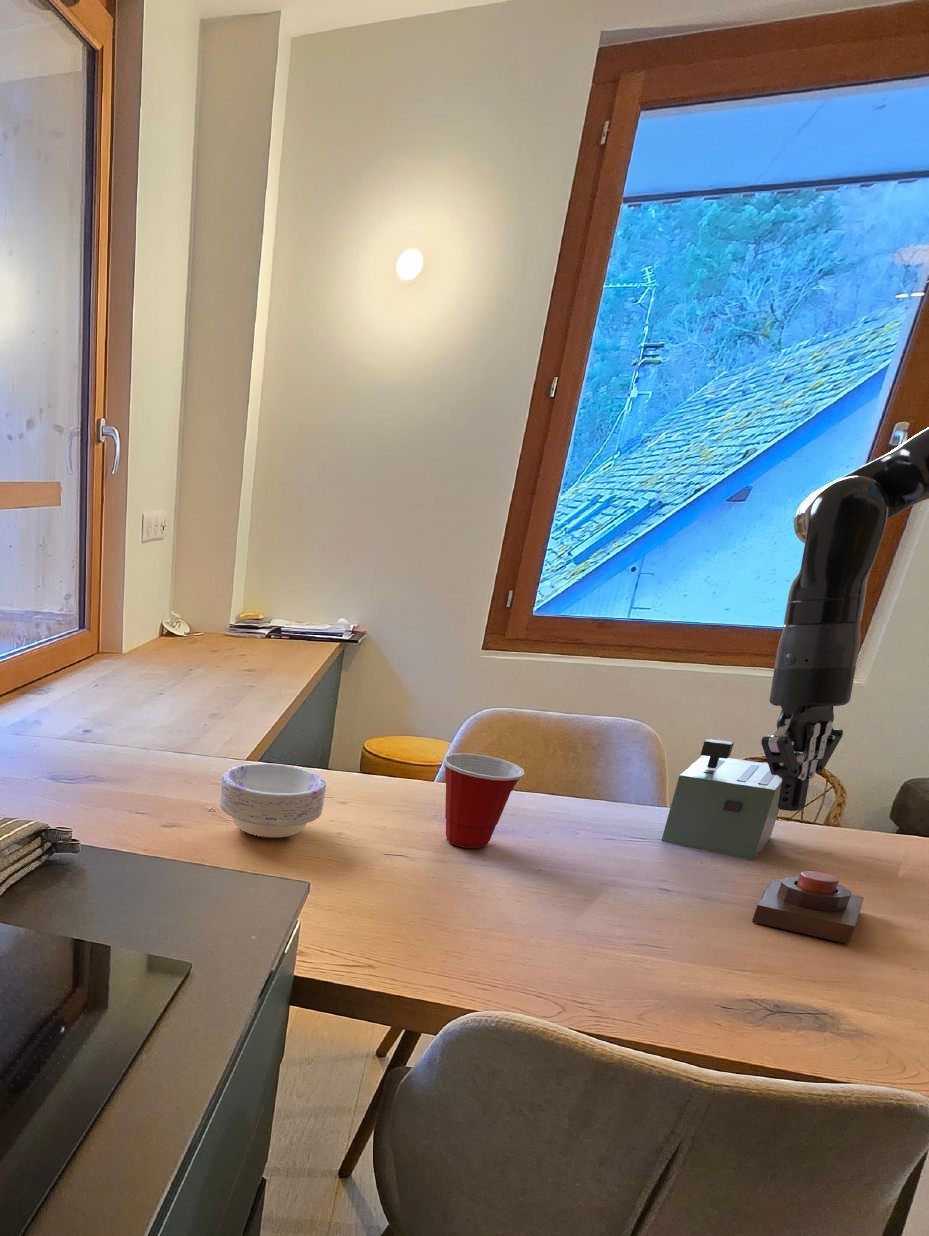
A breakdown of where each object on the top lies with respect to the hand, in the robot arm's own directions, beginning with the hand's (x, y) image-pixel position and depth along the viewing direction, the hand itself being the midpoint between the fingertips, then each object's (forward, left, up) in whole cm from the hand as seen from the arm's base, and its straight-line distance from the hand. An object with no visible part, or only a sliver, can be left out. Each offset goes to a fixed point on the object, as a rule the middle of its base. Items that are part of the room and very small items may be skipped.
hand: (790, 809), depth 114 cm
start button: (+3, +7, -7) cm, 11 cm away
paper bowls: (+47, -42, -11) cm, 64 cm away
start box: (+3, +7, -11) cm, 14 cm away
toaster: (-12, -16, -11) cm, 23 cm away
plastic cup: (+22, -28, -11) cm, 37 cm away
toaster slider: (-9, -18, 0) cm, 20 cm away
